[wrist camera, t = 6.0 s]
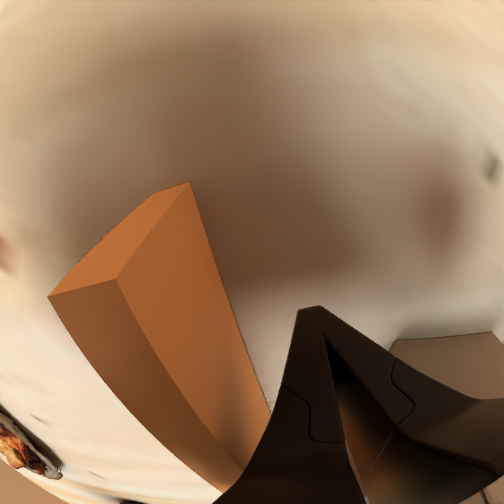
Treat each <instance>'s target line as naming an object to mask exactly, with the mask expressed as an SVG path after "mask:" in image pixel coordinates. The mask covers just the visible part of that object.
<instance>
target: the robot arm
mask: <svg viewBox="0 0 504 504" xmlns="http://www.w3.org/2000/svg"><path fill="white" fill-rule="evenodd" d="M394 357H395V356H394V355H393V354H392V353H390V352H389V351H387V350H386V349H384V348H383V347H381V346H380V345H378V344H377V343H375V342H374V341H372V340H371V339H369V338H368V337H366V336H365V335H363V334H362V333H360V332H359V331H358V330H356V329H355V328H353V327H352V326H350V325H349V324H347V323H346V322H344V321H343V320H341V319H340V318H338V317H337V316H335V315H334V314H332V313H331V312H329V311H328V310H327V309H325V308H324V307H322V306H320V305H318V306H313V307H309V308H304V309H299V310H298V311H297V316H296V321H295V326H294V330H293V335H292V339H291V344H290V348H289V352H288V357H287V361H286V365H285V369H284V373H283V378H282V382H281V387H280V389H279V393H278V397H277V400H276V403H275V406H274V409H273V412H272V415H271V417H270V420H269V422H268V424H267V427H266V429H265V431H264V433H263V435H262V437H261V439H260V441H259V443H258V445H257V447H256V449H255V451H254V453H253V455H252V457H251V459H250V461H249V463H248V465H247V466H246V468H245V470H244V471H243V473H242V474H241V476H240V477H239V478H238V480H237V481H236V482H235V483H234V484H233V485H232V486H231V487H230V488H229V489H228V490H227V491H225V492H224V493H223V494H222V495H221V496H220V497H219V498H218V499H217V500H216V501H214V502H213V503H212V504H367V503H366V501H365V499H364V496H363V494H362V491H361V489H360V486H359V484H358V482H357V479H356V477H355V474H354V472H353V470H352V467H351V465H350V462H349V458H348V454H347V449H346V445H345V439H346V442H347V445H348V447H349V450H350V452H351V455H352V458H353V460H354V463H355V466H356V468H357V471H358V474H359V476H360V479H361V482H362V483H363V484H362V485H363V487H364V490H365V493H366V495H367V498H368V501H369V503H370V504H504V397H503V398H494V399H478V398H473V397H470V396H467V395H465V394H463V393H461V392H459V391H457V390H455V389H453V388H451V387H449V386H447V385H445V384H443V383H441V382H439V381H437V380H435V379H433V378H431V377H429V376H427V375H425V374H423V373H422V372H420V371H418V370H416V369H415V368H413V367H412V366H410V365H408V364H407V363H405V362H404V361H402V360H401V359H399V358H398V357H395V358H394Z"/></svg>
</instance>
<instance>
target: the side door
mask: <svg viewBox="0 0 504 504" xmlns="http://www.w3.org/2000/svg"><path fill="white" fill-rule="evenodd" d="M47 297H48V299H49V300H50V302H51V304H52V306H53V307H54V309H55V311H56V313H57V314H58V316H59V318H60V319H61V321H62V323H63V324H64V326H65V327H66V329H67V330H68V332H69V334H70V335H71V337H72V338H73V340H74V341H75V343H76V344H77V346H78V347H79V348H80V350H81V351H82V353H83V354H84V356H85V357H86V358H87V360H88V361H89V362H90V364H91V365H92V367H93V368H94V369H95V370H96V372H97V373H98V374H99V376H100V377H101V378H102V379H103V381H104V382H105V383H106V384H107V386H108V387H109V388H110V389H111V391H112V392H113V393H114V394H115V395H116V396H117V398H118V399H119V400H120V401H121V402H122V403H123V404H124V406H125V407H126V408H127V409H128V410H129V411H130V412H131V413H132V414H133V415H134V417H135V418H136V419H137V420H138V421H139V422H140V423H141V424H142V425H143V426H144V427H145V428H146V429H147V430H148V431H149V432H150V433H151V434H152V435H153V436H154V437H155V438H156V439H157V440H158V441H159V442H160V443H162V444H163V445H164V446H165V447H166V448H167V449H168V450H169V451H170V452H171V453H173V454H174V455H175V456H176V457H177V458H178V459H179V460H181V461H182V462H183V463H184V464H185V465H187V466H188V467H189V468H190V469H191V470H193V471H194V472H195V473H196V474H198V475H199V476H200V477H202V478H203V479H204V480H205V481H207V482H208V483H209V484H211V485H212V486H214V487H215V488H216V489H218V490H219V491H220V492H222V493H224V492H225V491H227V490H228V489H229V488H230V487H231V486H232V485H233V484H234V483H235V482H236V481H237V480H238V478H239V477H240V476H241V474H242V473H243V471H244V470H245V468H246V466H247V465H248V463H249V461H250V459H251V457H252V455H253V453H254V451H255V449H256V447H257V445H258V443H259V441H260V439H261V437H262V435H263V433H264V431H265V429H266V427H267V424H268V422H269V420H270V417H271V414H270V411H269V409H268V406H267V404H266V401H265V399H264V396H263V393H262V391H261V388H260V386H259V383H258V381H257V378H256V375H255V373H254V370H253V367H252V365H251V362H250V359H249V357H248V354H247V351H246V349H245V346H244V343H243V340H242V338H241V335H240V332H239V329H238V327H237V324H236V321H235V318H234V315H233V312H232V310H231V307H230V304H229V301H228V298H227V295H226V292H225V289H224V287H223V284H222V281H221V278H220V275H219V272H218V269H217V266H216V263H215V260H214V257H213V254H212V251H211V248H210V244H209V241H208V238H207V235H206V232H205V229H204V226H203V223H202V219H201V216H200V213H199V210H198V207H197V203H196V200H195V197H194V193H193V190H192V187H191V183H190V182H187V183H184V184H181V185H177V186H174V187H171V188H168V189H165V190H161V191H158V192H155V193H154V194H152V195H151V196H150V197H149V198H148V199H146V200H145V201H144V202H143V203H142V204H141V205H139V206H138V207H137V208H136V209H135V210H134V211H133V212H131V213H130V214H129V215H128V216H127V217H126V218H125V219H124V220H122V221H121V222H120V223H119V224H118V225H117V226H116V227H115V228H114V229H113V230H112V231H110V232H109V233H108V234H107V235H106V236H105V237H104V238H103V239H102V240H101V241H100V242H99V243H98V244H97V245H96V246H95V247H94V248H93V249H92V250H91V251H90V252H89V253H88V254H87V255H86V256H85V257H84V258H83V259H82V260H81V261H80V262H79V263H78V264H77V265H76V266H75V267H74V268H73V269H72V270H71V271H70V272H69V273H68V274H67V275H66V276H65V278H64V279H63V280H62V281H61V282H60V283H59V284H58V285H57V286H56V287H55V289H54V290H53V291H52V292H51V293H50V294H49V295H48V296H47Z"/></svg>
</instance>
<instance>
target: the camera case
mask: <svg viewBox="0 0 504 504" xmlns="http://www.w3.org/2000/svg"><path fill="white" fill-rule="evenodd" d="M390 353H392V354H393V355H394V356H395V357H398V358H399V359H401V360H402V361H404V362H405V363H407V364H408V365H410V366H412V367H413V368H415V369H416V370H418V371H420V372H422V373H423V374H425V375H427V376H429V377H431V378H433V379H435V380H437V381H439V382H441V383H443V384H445V385H447V386H449V387H451V388H453V389H455V390H457V391H459V392H461V393H463V394H465V395H467V396H470V397H473V398H478V399H494V398H503V397H504V345H503V343H502V342H501V341H500V340H499V339H498V338H497V337H496V336H495V335H494V334H493V332H486V333H479V334H471V335H462V336H452V337H441V338H429V339H414V340H396V341H395V342H394V344H393V346H392V348H391V350H390ZM395 357H394V358H395ZM345 445H346V449H347V454H348V458H349V462H350V465H351V467H352V470H353V472H354V474H355V477H356V479H357V482H358V484H359V486H360V489H361V491H362V494H363V496H364V499H365V501H366V503H367V504H370V503H369V501H368V498H367V495H366V493H365V490H364V487H363V485H362V484H363V483H362V482H361V479H360V476H359V474H358V471H357V468H356V466H355V463H354V460H353V458H352V455H351V452H350V450H349V447H348V445H347V442H346V439H345Z"/></svg>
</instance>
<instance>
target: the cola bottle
mask: <svg viewBox="0 0 504 504" xmlns="http://www.w3.org/2000/svg"><path fill="white" fill-rule="evenodd" d="M120 504H141V503H137V502H130V501H125V502H121V503H120Z"/></svg>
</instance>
